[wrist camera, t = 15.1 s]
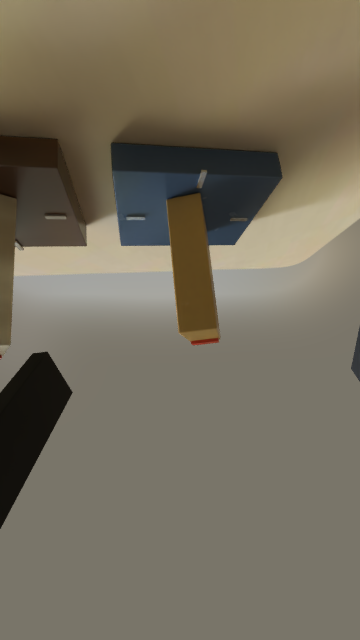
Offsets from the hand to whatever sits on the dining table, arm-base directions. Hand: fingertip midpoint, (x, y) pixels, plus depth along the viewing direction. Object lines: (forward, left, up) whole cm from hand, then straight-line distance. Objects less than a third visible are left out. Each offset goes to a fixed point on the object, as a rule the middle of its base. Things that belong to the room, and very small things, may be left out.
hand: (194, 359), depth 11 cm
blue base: (+2, -7, -13) cm, 15 cm away
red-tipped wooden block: (+2, -7, -11) cm, 13 cm away
